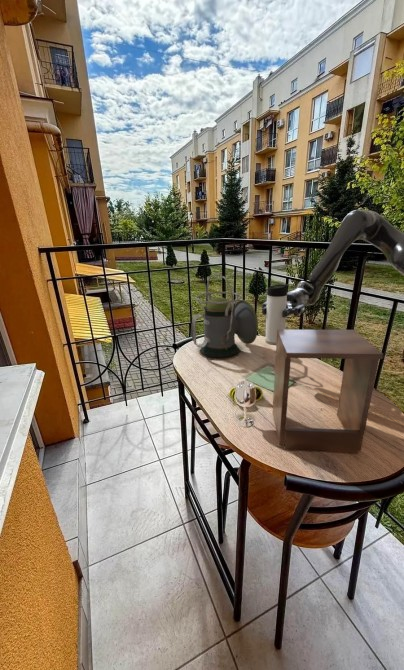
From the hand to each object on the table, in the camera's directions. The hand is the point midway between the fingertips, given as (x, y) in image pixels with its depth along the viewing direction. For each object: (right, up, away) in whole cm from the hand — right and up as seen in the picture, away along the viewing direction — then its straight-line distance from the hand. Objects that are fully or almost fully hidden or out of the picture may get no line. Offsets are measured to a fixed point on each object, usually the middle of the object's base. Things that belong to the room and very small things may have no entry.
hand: (273, 313), depth 91 cm
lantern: (-11, -14, +38) cm, 42 cm away
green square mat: (+2, -23, +11) cm, 26 cm away
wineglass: (-11, -32, -11) cm, 36 cm away
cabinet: (+7, -33, -15) cm, 37 cm away
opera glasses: (-9, -28, -1) cm, 30 cm away
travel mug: (+2, -10, +6) cm, 11 cm away
